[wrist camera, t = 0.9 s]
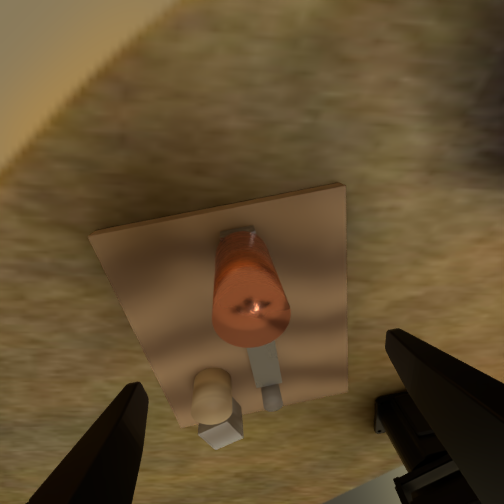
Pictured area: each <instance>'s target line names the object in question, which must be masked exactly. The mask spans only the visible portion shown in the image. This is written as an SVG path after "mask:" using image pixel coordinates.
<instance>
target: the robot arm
mask: <svg viewBox="0 0 504 504" xmlns="http://www.w3.org/2000/svg"><path fill="white" fill-rule="evenodd" d="M385 349H386V352H387V354H388V356H389V358H390V360H391V362H392V363H393V365H394V367H395V369H396V371H397V373H398V375H399V377H400V378H401V380H402V382H403V384H404V386H405V388H406V389H407V391H408V392H403V393H399V394H394V395H390V396H385V397H380V398H378V399H377V400H376V404H375V420H374V430H375V432H376V433H377V434H380V433H384V432H386V433H387V435H388V437H389V439H390V440H391V442H392V444H393V446H394V448H395V450H396V451H397V453H398V455H399V457H400V459H401V461H402V462H403V464H404V466H405V468H406V470H407V471H408V473H407V474H405V475H403V476H401V477H396V478H394V479H393V480H394V483H395V485H396V487H395V489H396V491H397V493H398V496H399V498H400V501H401V503H402V504H504V383H502V382H500V381H498V380H496V379H494V378H492V377H491V376H489V375H487V374H485V373H483V372H481V371H479V370H477V369H475V368H473V367H472V366H470V365H468V364H466V363H464V362H462V361H460V360H458V359H456V358H455V357H453V356H451V355H449V354H447V353H445V352H443V351H441V350H439V349H438V348H436V347H434V346H432V345H430V344H428V343H426V342H424V341H422V340H421V339H419V338H417V337H415V336H413V335H411V334H409V333H407V332H405V331H404V330H402V329H399V328H396V329H391V330H388V331H387V333H386V343H385ZM148 402H149V401H148V396H147V394H146V392H145V390H144V388H143V386H142V384H141V383H140V382H133V383H129V384H127V385H126V386H125V387H124V388H123V389H122V391H121V392H120V393H119V394H118V395H117V396H116V398H115V399H114V400H113V401H112V402H111V404H110V405H109V406H108V407H107V408H106V409H105V411H104V412H103V413H102V414H101V415H100V416H99V418H98V419H97V420H96V421H95V422H94V424H93V425H92V426H91V427H90V428H89V429H88V431H87V432H86V433H85V434H84V435H83V437H82V438H81V439H80V440H79V441H78V442H77V444H76V445H75V446H74V447H73V448H72V450H71V451H70V452H69V453H68V454H67V455H66V457H65V458H64V459H63V460H62V461H61V462H60V464H59V465H58V466H57V467H56V468H55V470H54V471H53V472H52V473H51V474H50V475H49V477H48V478H47V479H46V480H45V481H44V483H43V484H42V485H41V486H40V487H39V488H38V490H37V491H36V492H35V493H34V494H33V495H32V497H31V498H30V499H29V502H27V503H26V504H132V500H133V495H134V490H135V486H136V481H137V476H138V472H139V467H140V462H141V457H142V452H143V446H144V438H145V429H146V420H147V412H148Z"/></svg>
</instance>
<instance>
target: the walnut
mask: <svg viewBox="0 0 504 504" xmlns="http://www.w3.org/2000/svg"><path fill="white" fill-rule="evenodd" d="M231 414H232V383H231V376H230V374H229V373H228V372H227V371H225V370H223V369H221V368H207V369H204V370H202V371H200V372H199V373H198V374H197V375H196V377H195V379H194V387H193V396H192V405H191V416H192V418H193V419H194V420H195V421H197V422H199V423H201V424H206V425H213V424H218V423H221V422H224V421H225V420H227V419H228V418H229V417H230V416H231Z"/></svg>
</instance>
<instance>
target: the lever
mask: <svg viewBox="0 0 504 504" xmlns="http://www.w3.org/2000/svg"><path fill="white" fill-rule="evenodd" d="M290 317H291V309H290V305H289V303H288V300H287V298H286V295H285V292H284V290H283V287H282V285H281V282H280V280H279V277H278V274H277V272H276V269H275V267H274V264H273V262H272V259H271V256H270V254H269V251H268V249H267V246H266V244H265V242H264V241H263V240H262V239H261V238H260V237H259V236H258V235H256V231H255V228H254V225H251V226H246V227H241V228H236V229H231V230H226V231H221V232H220V243H219V245H218V247H217V249H216V255H215V272H214V290H213V308H212V324H213V327H214V330H215V331H216V333H217V334H218V336H219V337H220V338H221V339H222V340H224V341H225V342H227V343H229V344H231V345H234V346H237V347H243V348H247V352H248V356H249V360H250V364H251V368H252V372H253V376H254V380H255V384H256V388H260V387H265V386H270V385H274V384H279V383H282V378H281V372H280V367H279V361H278V356H277V350H276V344H275V339H277V338H278V337H279V336H280V335H281V334H282V333H283V332H284V331H285V330H286V328H287V326H288V324H289V321H290Z"/></svg>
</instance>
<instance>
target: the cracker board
mask: <svg viewBox="0 0 504 504" xmlns="http://www.w3.org/2000/svg"><path fill="white" fill-rule="evenodd" d="M251 225H254V228H255V231H256V235H258V236H259V237H260V238H261V239H262V240H263V241H264V242H265V244H266V246H267V249H268V251H269V254H270V256H271V259H272V262H273V264H274V267H275V269H276V272H277V274H278V277H279V280H280V282H281V285H282V287H283V290H284V292H285V295H286V298H287V300H288V303H289V305H290V309H291V317H290V321H289V324H288V326H287V328H286V330H285V331H284V332H283V333H282V334H281V335H280V336H279V337H278V338H277V339H275V344H276V350H277V356H278V361H279V367H280V372H281V378H282V383H279V384H274V385H270V386H265V387H260V388H256V384H255V380H254V376H253V372H252V368H251V364H250V360H249V356H248V352H247V348H243V347H237V346H234V345H231V344H229V343H227V342H225V341H224V340H222V339H221V338H220V337H219V336H218V334H217V333H216V331H215V330H214V327H213V324H212V308H213V290H214V272H215V255H216V249H217V247H218V245H219V243H220V232H221V231H226V230H231V229H236V228H241V227H246V226H251ZM88 239H89V241H90V243H91V245H92V247H93V249H94V251H95V253H96V255H97V257H98V259H99V261H100V263H101V265H102V267H103V269H104V271H105V274H106V276H107V278H108V280H109V282H110V284H111V286H112V288H113V290H114V292H115V294H116V296H117V298H118V300H119V302H120V304H121V306H122V308H123V310H124V312H125V314H126V316H127V318H128V320H129V323H130V325H131V327H132V329H133V331H134V333H135V335H136V337H137V339H138V341H139V343H140V345H141V347H142V349H143V351H144V353H145V355H146V357H147V359H148V361H149V363H150V365H151V367H152V370H153V372H154V374H155V376H156V378H157V380H158V382H159V384H160V386H161V388H162V390H163V392H164V394H165V396H166V398H167V400H168V402H169V404H170V406H171V408H172V410H173V412H174V414H175V417H176V419H177V421H178V423H179V425H180V427H181V428H184V427H188V426H193V425H198V424H199V427H198V435H199V436H200V437H201V438H202V439H204V440H205V441H206V442H207V443H208V444H209V445H210V446H212V447H213V448H214V449H215V450H217V449H219V448H221V447H224V446H226V445H228V444H231V443H233V442H235V441H237V440H240V439H242V438H244V437H243V423H242V415H244V414H249V413H253V412H258V411H263V410H267V411H277V410H279V409H280V408H281V407H282V406H286V405H291V404H295V403H300V402H305V401H309V400H314V399H318V398H323V397H328V396H332V395H337V394H342V393H346V392H348V337H347V244H346V185H343V184H341V183H334V184H329V185H324V186H319V187H314V188H309V189H304V190H299V191H294V192H288V193H283V194H278V195H273V196H268V197H263V198H258V199H253V200H248V201H243V202H238V203H233V204H227V205H222V206H217V207H212V208H207V209H202V210H197V211H192V212H187V213H182V214H177V215H172V216H167V217H161V218H156V219H151V220H146V221H141V222H136V223H131V224H126V225H121V226H116V227H111V228H106V229H101V230H95V231H94V232H93V233H91V234H90V235H89V236H88ZM207 368H221V369H223V370H225V371H227V372H228V373H229V374H230V376H231V383H232V414H231V416H230V417H229V418H228V419H227V420H225V421H224V422H221V423H218V424H213V425H206V424H201V423H199V422H197V421H195V420H194V419H193V418H192V416H191V405H192V396H193V387H194V379H195V377H196V375H197V374H198V373H199V372H200V371H202V370H204V369H207Z"/></svg>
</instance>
